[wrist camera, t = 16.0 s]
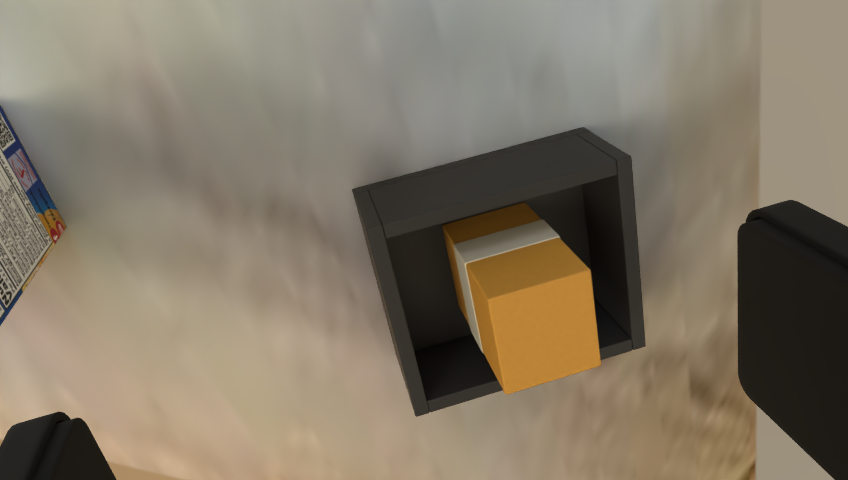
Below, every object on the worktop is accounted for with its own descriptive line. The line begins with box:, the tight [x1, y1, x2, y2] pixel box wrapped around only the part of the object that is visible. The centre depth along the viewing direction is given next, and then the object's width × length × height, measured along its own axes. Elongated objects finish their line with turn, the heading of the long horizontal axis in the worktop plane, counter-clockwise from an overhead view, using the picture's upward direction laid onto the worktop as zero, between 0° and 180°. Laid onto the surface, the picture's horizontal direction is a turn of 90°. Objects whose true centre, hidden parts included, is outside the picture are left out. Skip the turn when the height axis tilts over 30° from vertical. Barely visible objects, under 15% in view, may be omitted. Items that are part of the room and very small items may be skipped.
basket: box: [352, 127, 645, 417], centre depth 39 cm, size 14×12×6 cm
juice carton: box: [442, 203, 601, 394], centre depth 37 cm, size 6×5×9 cm
